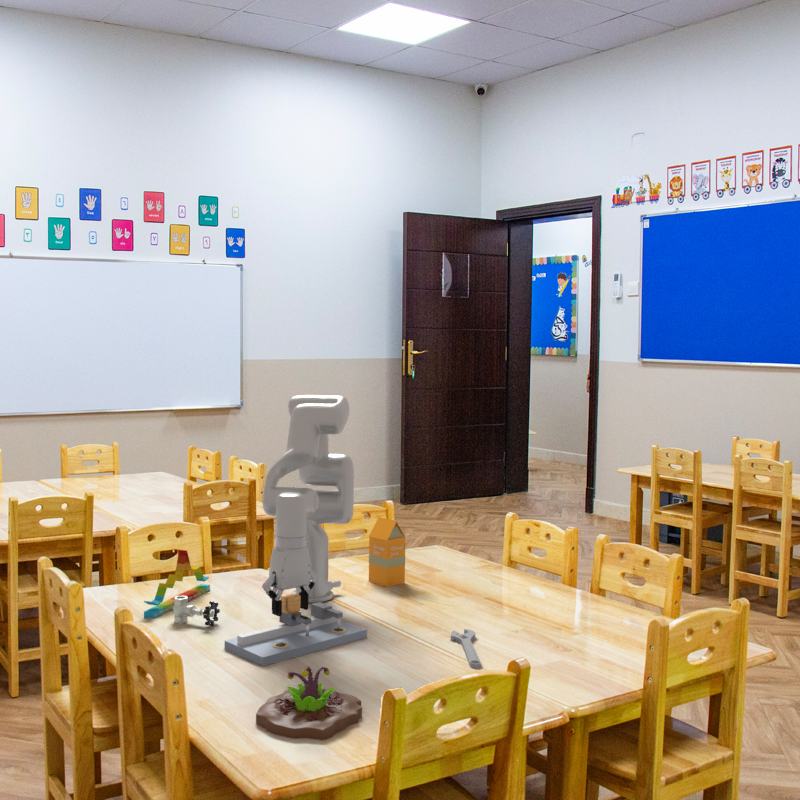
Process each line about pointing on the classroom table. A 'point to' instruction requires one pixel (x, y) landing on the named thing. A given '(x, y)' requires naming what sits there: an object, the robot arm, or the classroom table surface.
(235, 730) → the classroom table surface
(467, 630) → the adjustable wrench
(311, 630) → the bolt hole plate
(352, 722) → the plant
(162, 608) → the chart
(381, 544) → the orange juice
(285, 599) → the divider leg
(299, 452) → the robot arm
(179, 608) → the valve
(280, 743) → the classroom table surface
